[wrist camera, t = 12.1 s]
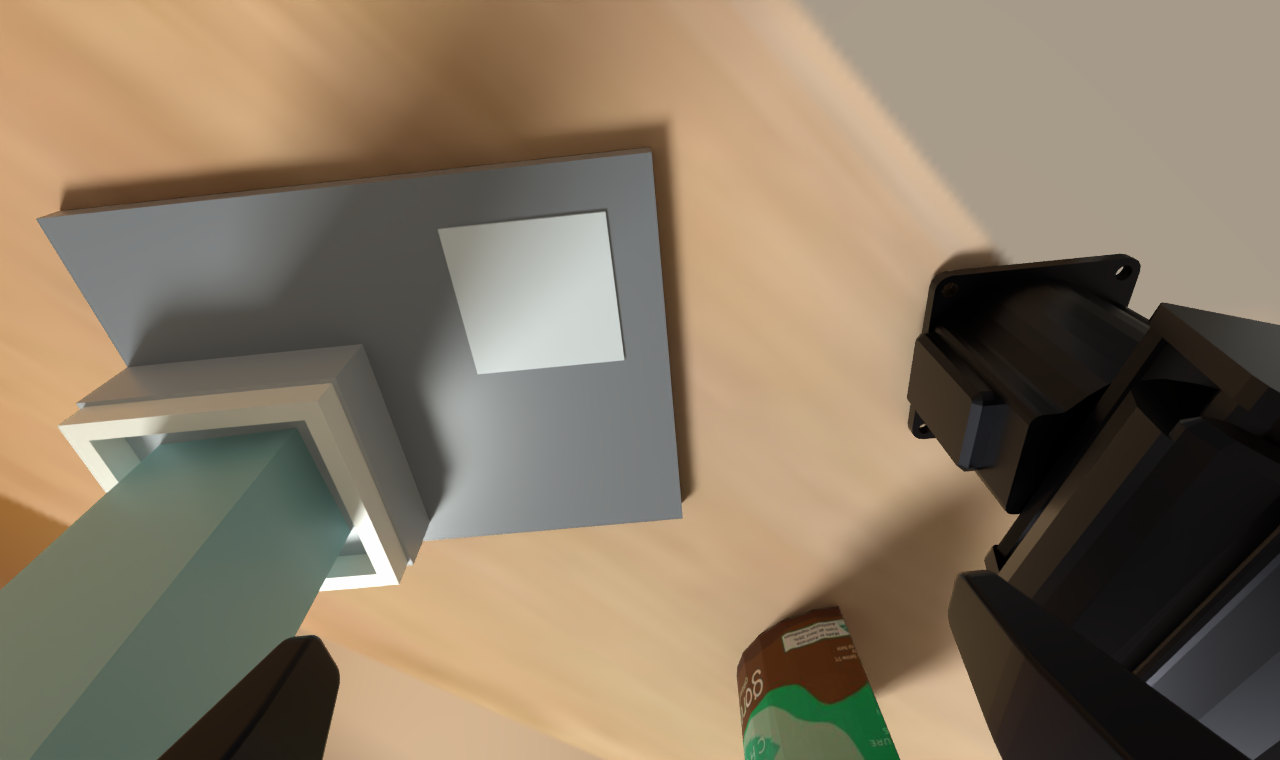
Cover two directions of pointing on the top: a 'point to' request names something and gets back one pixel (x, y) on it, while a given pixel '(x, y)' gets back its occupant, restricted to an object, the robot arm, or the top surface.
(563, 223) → the grey board with socket
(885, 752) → the food container
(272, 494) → the pillar
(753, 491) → the top surface
